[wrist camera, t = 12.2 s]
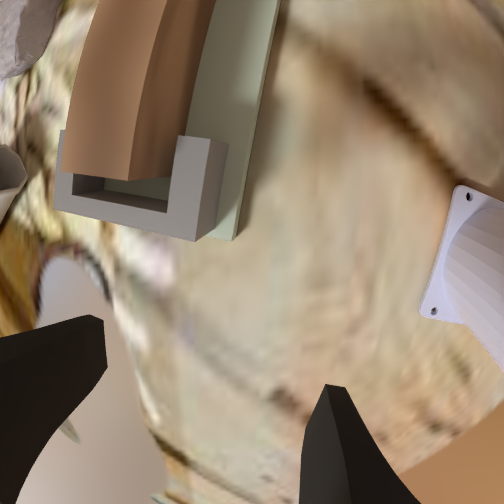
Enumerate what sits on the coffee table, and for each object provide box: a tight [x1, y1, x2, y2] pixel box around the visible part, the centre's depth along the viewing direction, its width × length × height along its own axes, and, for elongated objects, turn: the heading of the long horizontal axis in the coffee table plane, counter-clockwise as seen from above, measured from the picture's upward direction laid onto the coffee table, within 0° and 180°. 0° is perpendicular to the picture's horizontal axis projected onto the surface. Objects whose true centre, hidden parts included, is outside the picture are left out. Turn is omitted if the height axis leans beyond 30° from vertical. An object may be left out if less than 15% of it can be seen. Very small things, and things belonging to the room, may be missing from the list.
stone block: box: [0, 0, 61, 81], centre depth 15 cm, size 12×5×10 cm
